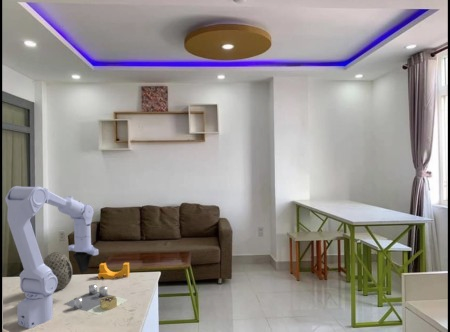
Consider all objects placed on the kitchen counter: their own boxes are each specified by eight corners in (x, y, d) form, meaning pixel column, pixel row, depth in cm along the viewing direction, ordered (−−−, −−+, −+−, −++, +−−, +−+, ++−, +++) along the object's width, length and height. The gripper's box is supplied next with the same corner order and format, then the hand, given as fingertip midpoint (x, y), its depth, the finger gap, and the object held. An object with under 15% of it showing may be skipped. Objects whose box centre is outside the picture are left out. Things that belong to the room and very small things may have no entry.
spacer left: (77, 310, 116) (77, 301, 115) (71, 308, 117) (71, 299, 117) (84, 306, 118) (84, 298, 118) (78, 305, 119) (78, 296, 119)
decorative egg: (64, 296, 130) (62, 256, 129) (33, 296, 130) (32, 257, 129) (78, 284, 141) (76, 248, 141) (49, 284, 142) (48, 248, 141)
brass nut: (107, 311, 114) (106, 303, 114) (96, 308, 117) (96, 300, 117) (120, 304, 119) (119, 297, 119) (109, 301, 122) (109, 294, 122)
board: (99, 318, 112) (99, 315, 112) (63, 306, 120) (63, 304, 120) (128, 302, 123) (128, 299, 123) (93, 293, 132) (93, 290, 132)
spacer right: (103, 297, 125) (102, 289, 125) (97, 296, 126) (97, 288, 126) (109, 294, 128) (108, 287, 127) (103, 293, 129) (103, 285, 129)
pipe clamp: (98, 281, 144) (97, 266, 144) (101, 277, 149) (101, 263, 149) (126, 281, 145) (126, 265, 144) (129, 277, 149) (129, 262, 149)
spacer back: (92, 295, 127) (92, 287, 127) (87, 294, 128) (87, 286, 128) (98, 292, 130) (98, 285, 129) (93, 291, 131) (93, 283, 131)
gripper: (104, 235, 128) (105, 271, 129) (78, 231, 135) (79, 265, 136) (89, 239, 122) (90, 277, 123) (62, 235, 129) (64, 271, 130)
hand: (83, 271), depth 129 cm, fingers closed
